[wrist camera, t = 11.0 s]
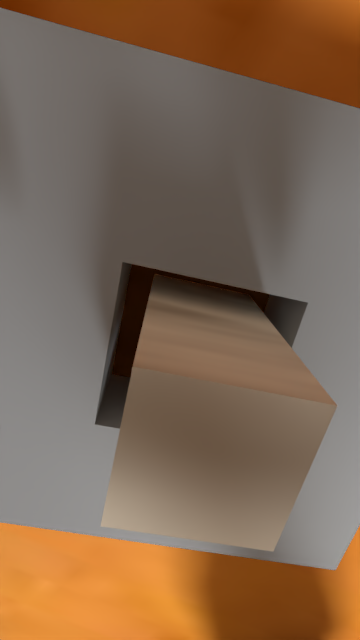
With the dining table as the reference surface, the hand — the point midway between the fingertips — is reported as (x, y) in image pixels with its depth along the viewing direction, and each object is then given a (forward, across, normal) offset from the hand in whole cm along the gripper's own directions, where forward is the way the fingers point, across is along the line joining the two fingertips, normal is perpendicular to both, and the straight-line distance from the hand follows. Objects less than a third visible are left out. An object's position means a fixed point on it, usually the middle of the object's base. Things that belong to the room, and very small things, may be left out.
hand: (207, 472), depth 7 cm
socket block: (+9, 0, 0) cm, 9 cm away
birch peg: (+9, 0, 0) cm, 9 cm away
